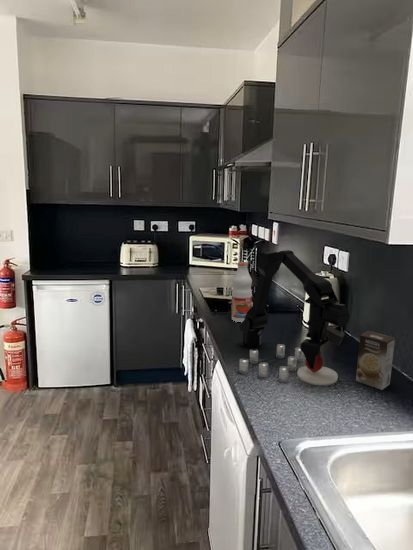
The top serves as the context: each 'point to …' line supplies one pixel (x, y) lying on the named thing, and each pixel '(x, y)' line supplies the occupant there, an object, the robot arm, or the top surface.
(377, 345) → the coffee box
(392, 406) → the top surface
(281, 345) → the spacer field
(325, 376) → the plate
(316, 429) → the top surface
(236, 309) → the fruit juice
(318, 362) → the onion
